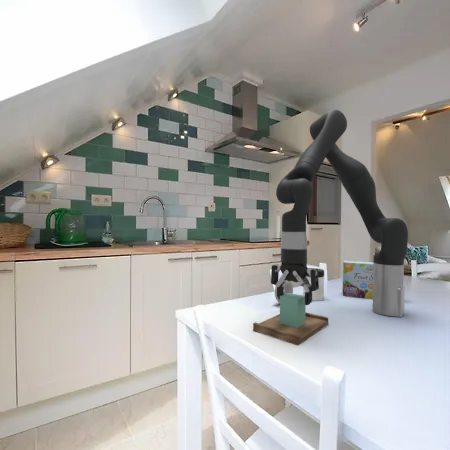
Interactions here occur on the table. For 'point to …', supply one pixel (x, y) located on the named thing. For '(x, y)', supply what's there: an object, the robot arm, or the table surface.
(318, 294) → the jar
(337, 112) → the robot arm
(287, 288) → the donut
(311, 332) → the board
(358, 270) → the snack box
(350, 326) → the table surface
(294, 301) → the block
